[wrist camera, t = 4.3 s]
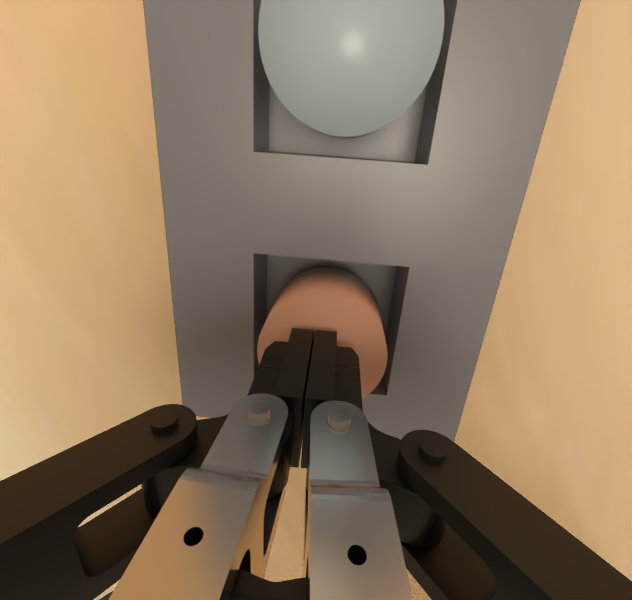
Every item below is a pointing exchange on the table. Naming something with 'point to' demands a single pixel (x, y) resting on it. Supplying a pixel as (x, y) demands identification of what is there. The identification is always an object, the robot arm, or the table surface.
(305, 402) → the robot arm
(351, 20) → the slate button
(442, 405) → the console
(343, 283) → the terracotta button
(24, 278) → the table surface
